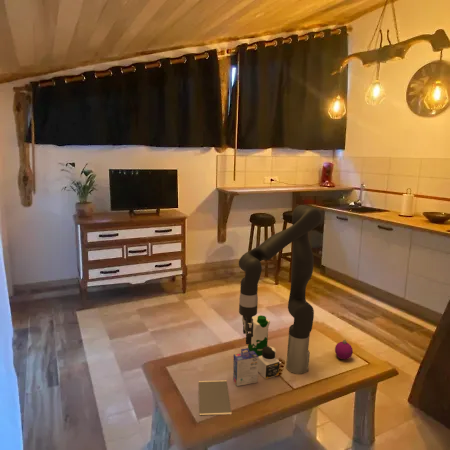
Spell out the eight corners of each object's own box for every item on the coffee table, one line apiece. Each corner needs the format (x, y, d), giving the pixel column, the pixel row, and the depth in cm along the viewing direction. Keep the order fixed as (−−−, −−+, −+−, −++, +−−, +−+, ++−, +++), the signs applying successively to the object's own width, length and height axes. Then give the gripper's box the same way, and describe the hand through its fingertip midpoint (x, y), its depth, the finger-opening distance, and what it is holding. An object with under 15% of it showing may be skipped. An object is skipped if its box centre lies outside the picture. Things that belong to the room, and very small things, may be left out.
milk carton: (255, 360, 175) (257, 321, 170) (244, 351, 182) (246, 313, 178) (270, 355, 179) (272, 317, 175) (258, 346, 187) (260, 309, 182)
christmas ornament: (339, 351, 184) (341, 333, 182) (354, 358, 179) (356, 339, 177) (331, 357, 179) (332, 339, 176) (346, 365, 173) (348, 345, 171)
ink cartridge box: (253, 374, 164) (254, 345, 161) (258, 382, 159) (259, 352, 155) (232, 378, 160) (233, 348, 157) (236, 386, 155) (237, 355, 152)
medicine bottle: (265, 379, 161) (267, 354, 158) (256, 370, 167) (258, 346, 164) (278, 375, 164) (280, 350, 161) (269, 366, 170) (271, 343, 167)
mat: (226, 381, 159) (226, 380, 159) (231, 414, 139) (231, 413, 139) (198, 382, 158) (198, 381, 158) (199, 415, 138) (199, 414, 138)
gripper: (260, 310, 145) (258, 347, 149) (254, 295, 159) (253, 329, 162) (241, 310, 144) (240, 347, 148) (237, 295, 158) (236, 330, 162)
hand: (246, 338), depth 155 cm, fingers open, 8 cm apart
